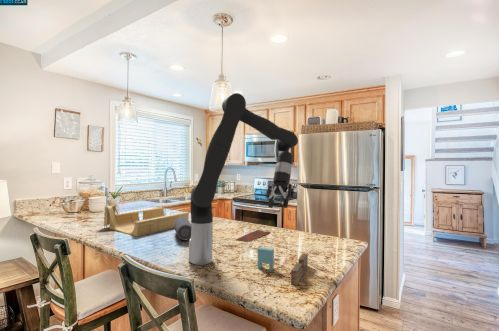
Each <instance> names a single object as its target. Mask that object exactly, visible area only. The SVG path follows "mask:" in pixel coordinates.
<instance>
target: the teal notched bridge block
mask: <svg viewBox="0 0 499 331" xmlns="http://www.w3.org/2000/svg"><path fill="white" fill-rule="evenodd" d="M274 260H275V248H269V247H268V248H267V247H261V246H260V247H258V248H257V269H259V270H260V269H262V268H263V264H267V265H269V267H268V270H269V271H270V272H272V271H273V270H274V268H275V267H274V265H275V264H274V263H275V261H274Z"/></svg>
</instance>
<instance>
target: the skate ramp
mask: <svg viewBox="0 0 499 331" xmlns="http://www.w3.org/2000/svg"><path fill="white" fill-rule="evenodd" d="M137 208H138V207H137ZM137 208H132V209H131V211H127V212H120V211H119V212H118V209H117V208H116V205H114V203H111V205H110V202H109V203H108V204H104V213H103V214H104V216H103V220H104V221H103V225H104V226H103V228H104V229H105V228H106V229H108V226H109V230H113V231H115V232H118V233H122V234H126V235H130V236H134V237H141V236H145V235H150V234H154V233H157V232H161V231H166V230H169V229H170V228H171V229H173V228H174V227H175V221H176V220H177V219H178V218H180V217H184V218H186V219H188V220H189V211H187V209H185V210H184V211H182V212H180V211H177V212H172V213H171V212H169V213H170V214H167V215H166V214H165V210H164V208H165V207H164V206H163V205H160V206H159V207H154V206H152V207H151V208H149V209H148V208H147V207H145V206H144V207H143V208H142V210H141V209H140V210H138V209H137ZM134 209H135V210H134ZM140 213H142V219H141V218H140V216H139V214H140ZM174 229H175V228H174Z"/></svg>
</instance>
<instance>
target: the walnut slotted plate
mask: <svg viewBox="0 0 499 331" xmlns="http://www.w3.org/2000/svg"><path fill="white" fill-rule="evenodd" d="M308 261H309V260H308V253H304V252H303V253H301V255H300V256H299V258H298V262H295V264H294V265H293V267H292V268H291V269H290V270H291V271H290V284H291V286H298V285H299V282H300V281H301V279H302V278H303V276H304V273H305V272H306V270H307V268H308V265H309V264H308Z"/></svg>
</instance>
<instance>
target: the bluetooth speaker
mask: <svg viewBox="0 0 499 331" xmlns="http://www.w3.org/2000/svg"><path fill="white" fill-rule="evenodd" d="M174 231H175V233H176V236H177V237H178V238H179V239H180V240H181V241H183V240H184V241H187V240H190V239H191V221H189V218H188V219H186V218H184V217H180V218H178V219H177V220H176V221H175V228H174Z"/></svg>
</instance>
